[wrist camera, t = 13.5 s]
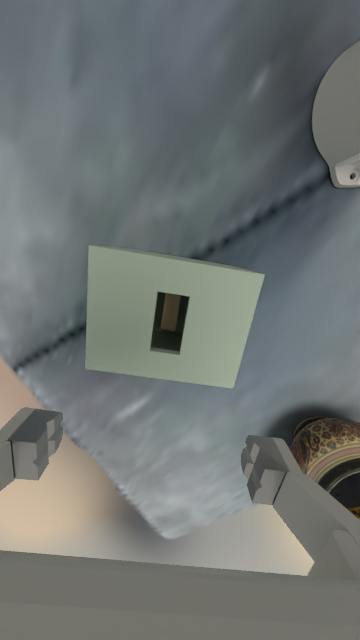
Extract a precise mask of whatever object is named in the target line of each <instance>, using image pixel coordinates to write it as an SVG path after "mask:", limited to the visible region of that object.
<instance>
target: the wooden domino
mask: <svg viewBox="0 0 360 640" xmlns="http://www.w3.org/2000/svg"><path fill="white" fill-rule="evenodd" d="M180 299H181V295H177V294H170V293H166V295H165V302H164V309H163V316H162V323H161V329H165V330H172V331H175V329H176V323H177V317H178V311H179V305H180Z"/></svg>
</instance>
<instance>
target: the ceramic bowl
mask: <svg viewBox="0 0 360 640" xmlns="http://www.w3.org/2000/svg"><path fill="white" fill-rule="evenodd" d="M293 439H294V440H293V442H292V444H291V447H290V451H291V453H292V455H293V457H294V458H295V460H296V462H297V464H298V465H299V467H300V469H301V471H302V472H303V474H306V475H308V476H309V477H310V478H312V479H313V480H314V481H315V482H316V483H317V484H318V485H320V486H321V487H322V488H323V489H324V490H325V491H327V492H328V493H329V494H330V495H331V496H332V497H334V498H335V499H336V500H337V501H338V502H339V503H341V504H342V505H343V506H344V507H345V508H346V509H347V510H349V511H350V512H351V513H352V514H353V515H354V516H356V517H357V518H358V519H359V520H360V423H358V422H355V421H351V420H347V419H341V418H327V417H323V416H318V417H310V418H308V419H305V420H304V421H302V422H301V423H300V424H299V425H298V426H297V428H296V429H295V431H294V435H293Z"/></svg>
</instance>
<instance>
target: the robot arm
mask: <svg viewBox="0 0 360 640" xmlns="http://www.w3.org/2000/svg"><path fill="white" fill-rule="evenodd" d="M312 130H313V136H314V140H315V143H316V146H317V148H318V150H319V152H320V154H321V155H322V156H323V158H324V159H325V161H326V162H327V164H328V166H329V169H330V174H331V179H332V182H333V184H334V186H335V187H337V188H353V187H360V40H359V41H358V42H357V43H355V44H354V45H353V46H351V47H350V48H348V49H347V50H346V51H345V52H343V53H342V54H341V55H340V56H339V57H338V58H337V59H336V60H335V61H334V63H333V64H332V65H331V67H330V68H329V69H328V71H327V72H326V74H325V76H324V78H323V79H322V81H321V84H320V86H319V88H318V91H317V94H316V97H315V101H314V106H313V112H312ZM350 175H352V179H350ZM62 420H63V413H61V412H56V411H49V410H42V409H33V408H27V407H25V408H22V409H21V410H20V411H19V412H18V413H17V414H16V415H15V416H14V417H13V418H12V419H11V420H10V421H9V422H8V423H7V424H6V425H5V426H4V427H3V428H2V429H1V430H0V491H1V490H2V489H3V488H5V487H6V486H7V485H8V484H10V483H11V482H12V481H14V479H27V480H39V478H40V477H41V475H42V473H43V472H44V470H45V468H46V467H47V465H48V464H49V463H48V457H50V456H51V455H53V454H54V453H55V452H56V450H57V448H58V447H59V444H60V442H61V439H62V435H63V428H62V426H61V425H60V423H61V422H62ZM245 442H246V445H247V447H245V448H244V449H243V451H242V454H241V465H242V470H243V474H244V475H245V476H246V477H247V478H248V479H249V480H248V483H247V487H248V490H249V494H250V497H251V500H252V502H253V503H261V504H268V505H273V508H274V509H275V510H276V511H277V513H278V514H279V515H280V517H281V518H282V519H283V521H284V522H285V523H286V525H287V526H288V527H289V528H290V530H291V531H292V533H293V534H294V535H295V536H296V538H297V539H298V540H299V542H300V543H301V544H302V545H303V547H304V548H305V550H306V551H307V552H308V553H309V555H310V556H311V557H312V559H313V560H314V561H315V563H314V564H313V566H312V568H311V570H310V571H309V573H308V576H301V575H288V574H276V573H264V572H253V571H241V570H228V569H217V568H205V567H193V566H182V565H169V564H157V563H146V562H134V561H122V560H109V559H98V558H86V557H73V556H61V555H50V554H37V553H26V552H14V551H1V550H0V640H360V520H359V519H358V518H357V517H356V516H354V515H353V514H352V513H351V512H350V511H349V510H347V509H346V508H345V507H344V506H343V505H342V504H341V503H339V502H338V501H337V500H336V499H335V498H334V497H332V496H331V495H330V494H329V493H328V492H327V491H325V490H324V489H323V488H322V487H321V486H320V485H318V484H317V483H316V482H315V481H314V480H313V479H312V478H310V477H309V476H308V475H306V474H303V472H302V471H301V469H300V467H299V465H298V464H297V462H296V460H295V458H294V457H293V455H292V453H291V451H290V450H289V448H288V446H287V444H286V443H285V441H284V440H283V439H282V438H272V437H271V438H270V437H263V436H254V435H248V437H247V439H246V441H245Z"/></svg>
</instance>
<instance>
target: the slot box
mask: <svg viewBox="0 0 360 640" xmlns="http://www.w3.org/2000/svg"><path fill="white" fill-rule="evenodd" d="M264 276H265V274H261V273H257V272H254V271H250V270H246V269H243V268H239V267H235V266H231V265H225V264H219V263H214V262H208V261H202V260H196V259H190V258H184V257H178V256H172V255H166V254H160V253H154V252H148V251H142V250H136V249H130V248H124V247H110V246H94V245H89V253H88V288H87V323H86V358H85V369H89V370H97V371H104V372H112V373H120V374H127V375H135V376H142V377H150V378H157V379H165V380H172V381H180V382H188V383H195V384H203V385H210V386H218V387H225V388H233V387H234V384H235V380H236V377H237V373H238V369H239V366H240V362H241V359H242V355H243V351H244V348H245V344H246V341H247V337H248V333H249V330H250V326H251V323H252V319H253V315H254V312H255V308H256V305H257V301H258V298H259V294H260V290H261V287H262V283H263V280H264ZM166 293H170V294H177V295H181V299H180V305H179V311H178V317H177V323H176V329H175V331H172V330H165V329H161V323H162V316H163V309H164V302H165V295H166Z"/></svg>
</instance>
